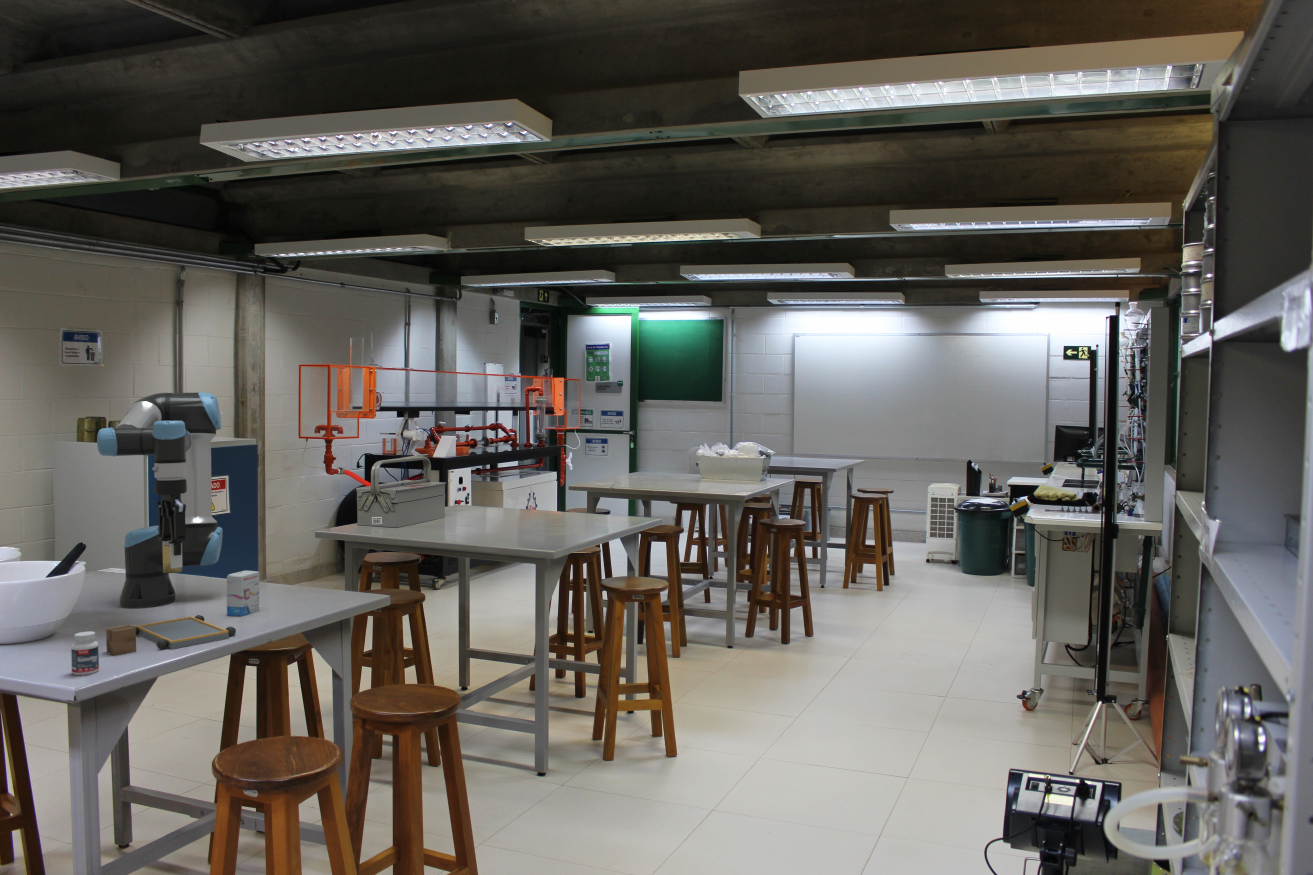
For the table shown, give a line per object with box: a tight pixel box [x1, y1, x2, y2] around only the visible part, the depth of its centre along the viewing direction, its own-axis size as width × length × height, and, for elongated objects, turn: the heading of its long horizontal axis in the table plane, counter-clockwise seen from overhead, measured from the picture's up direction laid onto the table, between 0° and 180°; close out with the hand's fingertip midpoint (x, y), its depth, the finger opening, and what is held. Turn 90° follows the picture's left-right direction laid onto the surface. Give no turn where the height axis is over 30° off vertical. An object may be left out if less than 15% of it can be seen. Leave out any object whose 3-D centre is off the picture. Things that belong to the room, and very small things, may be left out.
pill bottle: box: [70, 631, 100, 676], centre depth 207 cm, size 5×5×9 cm
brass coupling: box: [163, 545, 183, 574], centre depth 242 cm, size 4×4×7 cm
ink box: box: [226, 570, 260, 617], centre depth 265 cm, size 8×5×12 cm, turn 168°
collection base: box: [132, 614, 237, 650], centre depth 239 cm, size 24×19×2 cm
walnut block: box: [105, 624, 137, 657], centre depth 224 cm, size 5×5×6 cm
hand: (172, 566), depth 242 cm, fingers closed on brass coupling, 4 cm apart
